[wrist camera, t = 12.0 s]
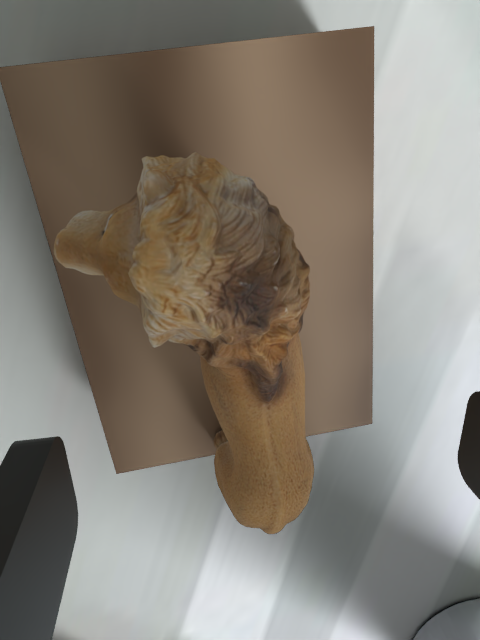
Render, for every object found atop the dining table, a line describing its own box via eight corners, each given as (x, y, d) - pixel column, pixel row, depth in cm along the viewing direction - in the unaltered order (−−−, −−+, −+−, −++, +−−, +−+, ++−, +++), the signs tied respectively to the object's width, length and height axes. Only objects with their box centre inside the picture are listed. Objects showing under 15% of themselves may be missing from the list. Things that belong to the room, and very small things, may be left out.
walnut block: (324, 51, 19) (374, 26, 15) (335, 371, 26) (372, 423, 21) (39, 84, 18) (-4, 67, 13) (125, 410, 24) (116, 473, 20)
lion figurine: (83, 175, 15) (-21, 226, 7) (230, 118, 15) (305, 100, 7) (230, 481, 21) (269, 704, 13) (335, 440, 21) (442, 638, 13)
